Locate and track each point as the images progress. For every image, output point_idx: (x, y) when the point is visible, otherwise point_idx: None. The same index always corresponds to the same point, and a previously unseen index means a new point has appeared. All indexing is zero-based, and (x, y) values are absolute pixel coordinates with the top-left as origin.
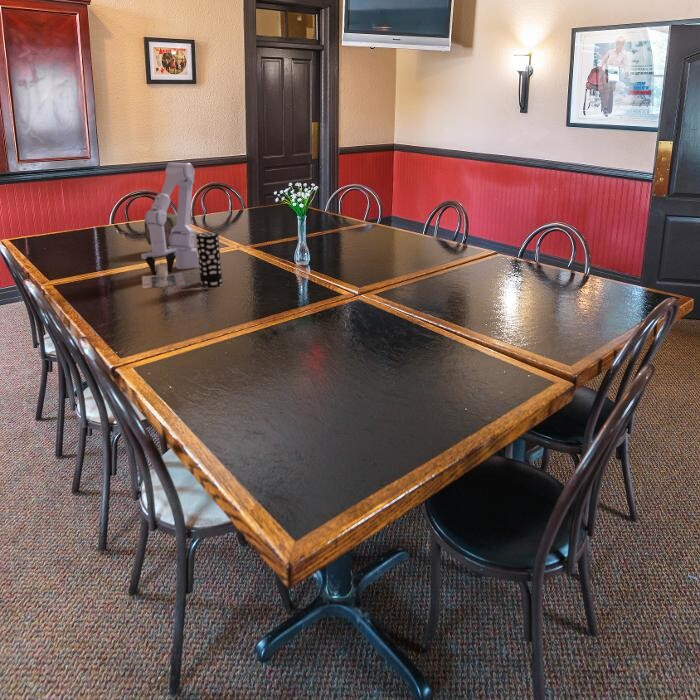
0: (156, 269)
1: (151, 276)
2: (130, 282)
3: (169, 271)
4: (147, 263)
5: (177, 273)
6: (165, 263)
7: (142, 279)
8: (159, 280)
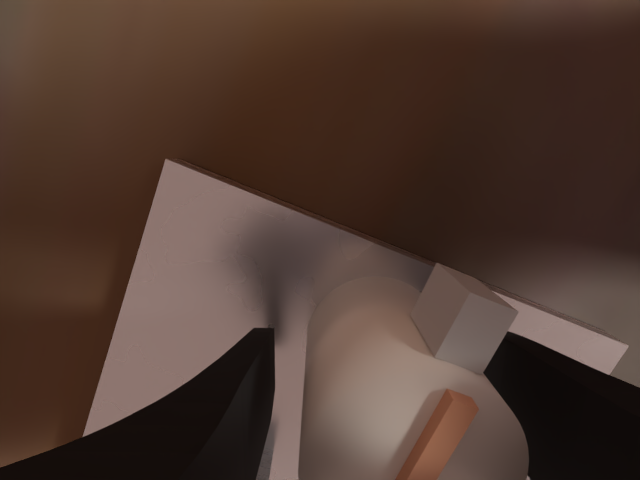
0: (302, 412)
1: (267, 252)
2: (11, 219)
3: (489, 376)
4: (119, 428)
5: (575, 336)
6: (524, 456)
7: (125, 308)
8: (271, 460)
